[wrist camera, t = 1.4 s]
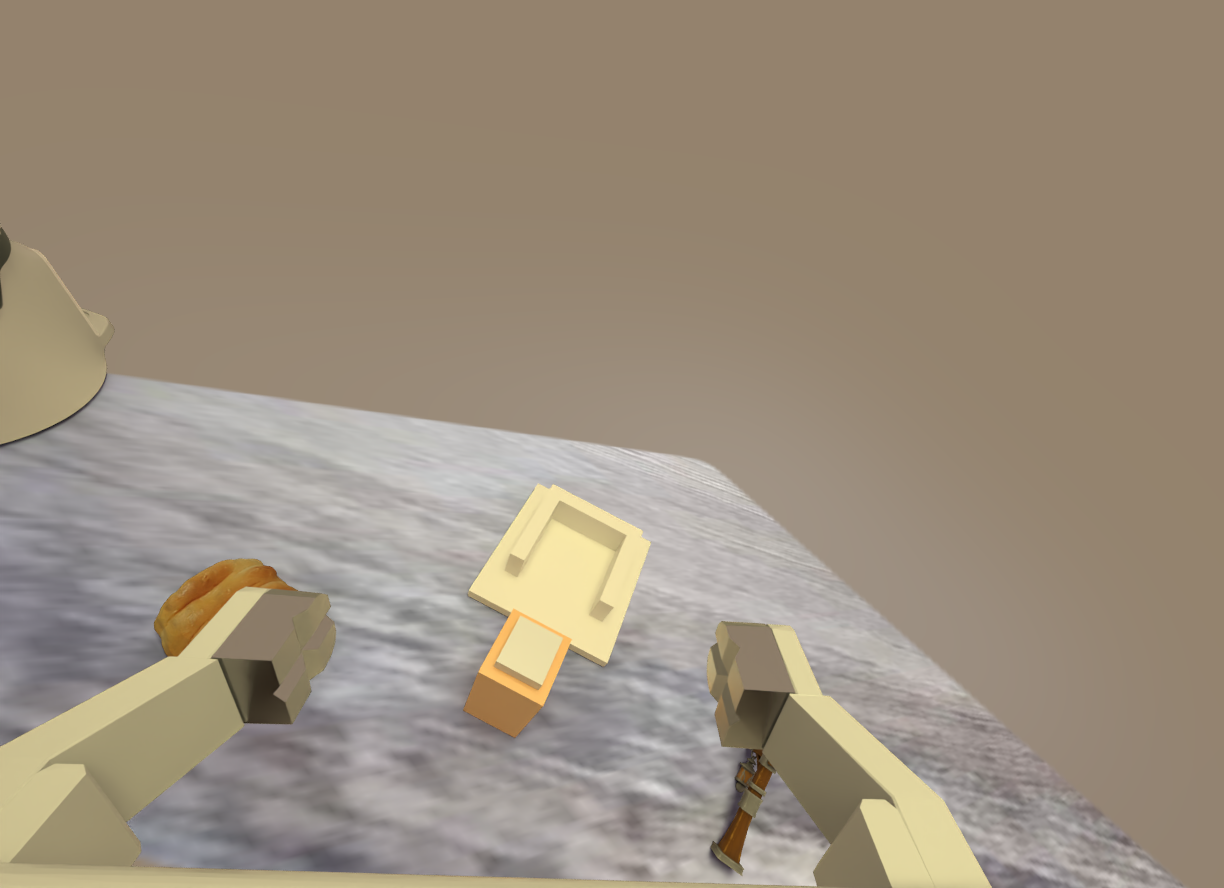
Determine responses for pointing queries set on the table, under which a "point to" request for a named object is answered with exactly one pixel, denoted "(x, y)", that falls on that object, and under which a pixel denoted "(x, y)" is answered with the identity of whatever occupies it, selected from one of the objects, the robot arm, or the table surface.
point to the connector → (517, 674)
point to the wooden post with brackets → (744, 809)
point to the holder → (566, 570)
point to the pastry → (208, 599)
